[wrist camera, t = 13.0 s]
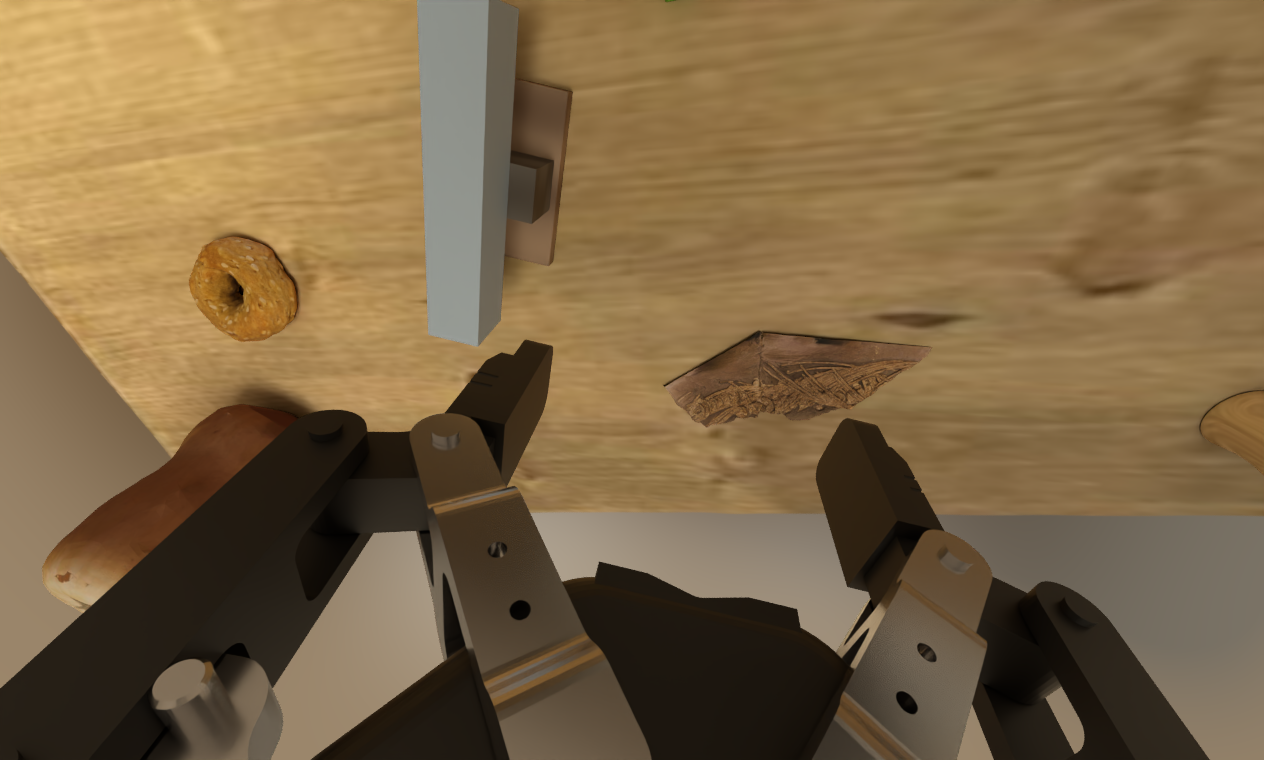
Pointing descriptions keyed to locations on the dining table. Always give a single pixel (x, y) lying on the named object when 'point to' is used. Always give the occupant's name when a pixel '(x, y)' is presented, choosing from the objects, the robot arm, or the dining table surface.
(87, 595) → the butternut squash
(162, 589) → the robot arm
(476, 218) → the batten
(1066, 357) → the dining table surface
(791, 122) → the dining table surface
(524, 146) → the ridge stand
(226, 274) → the bagel
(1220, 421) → the beer glass
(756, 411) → the wooden fragment
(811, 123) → the dining table surface
